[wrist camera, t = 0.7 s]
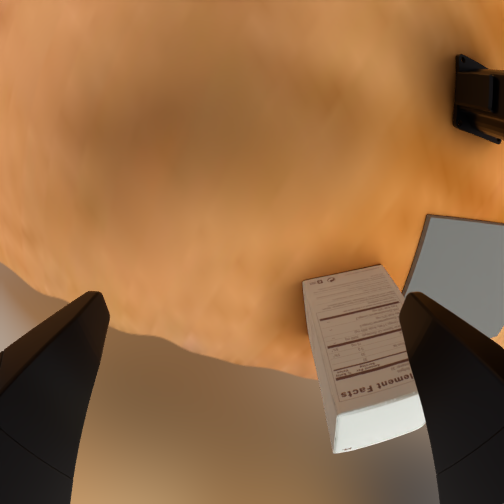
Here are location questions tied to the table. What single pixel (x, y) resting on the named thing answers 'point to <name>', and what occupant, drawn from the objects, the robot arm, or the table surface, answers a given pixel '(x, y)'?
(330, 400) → the supplement box
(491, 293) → the mat
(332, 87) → the table surface
